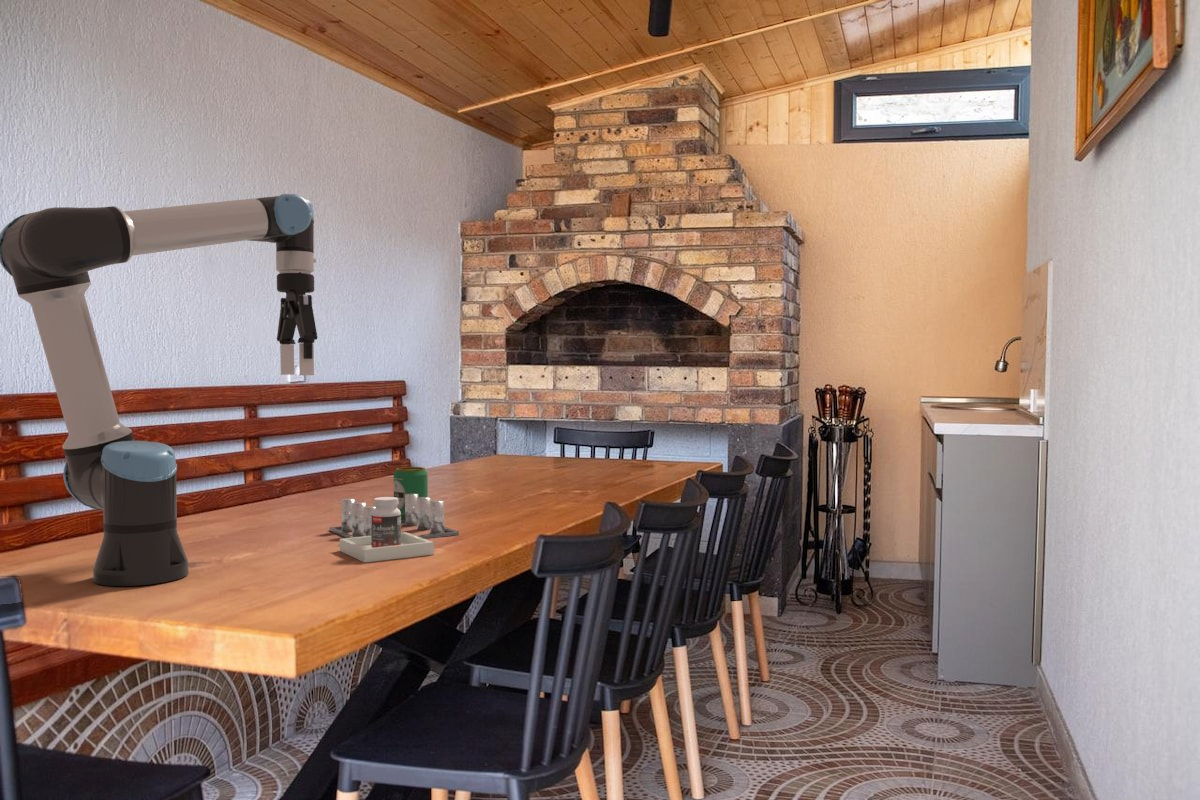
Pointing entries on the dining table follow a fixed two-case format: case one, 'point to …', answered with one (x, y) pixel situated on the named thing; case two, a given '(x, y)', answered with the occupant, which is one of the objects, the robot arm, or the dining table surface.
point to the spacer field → (416, 513)
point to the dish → (386, 548)
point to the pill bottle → (385, 522)
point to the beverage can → (409, 485)
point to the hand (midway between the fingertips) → (296, 375)
